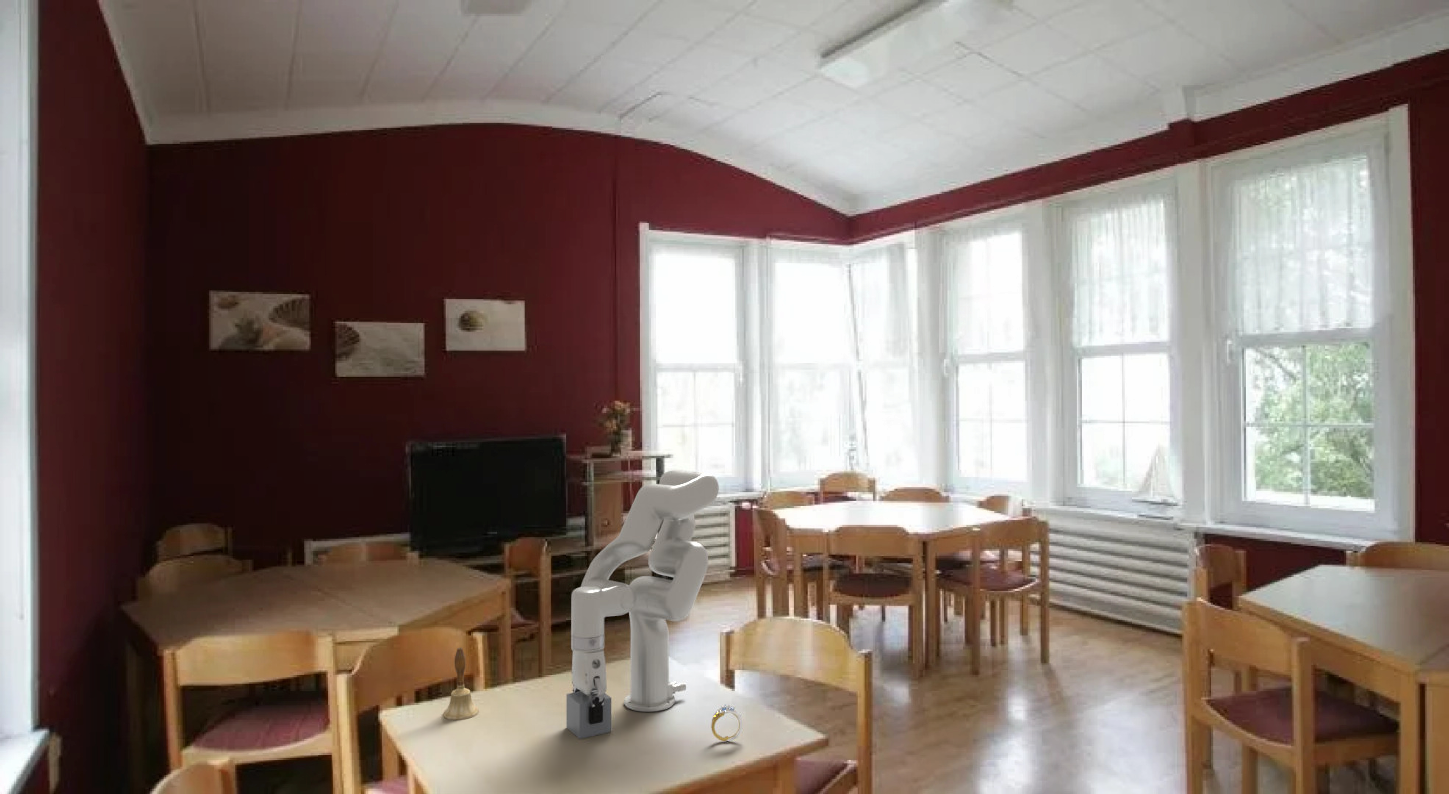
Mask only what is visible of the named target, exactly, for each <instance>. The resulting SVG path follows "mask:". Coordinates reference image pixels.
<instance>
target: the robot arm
mask: <svg viewBox="0 0 1449 794" xmlns="http://www.w3.org/2000/svg"><path fill="white" fill-rule="evenodd" d="M719 488H720V487H719V482H718V480H717V478H716V477H715V476H714V474H711V473H709V472H706V471H704V472H703V471H694V470H693V471H692V470H683V469H682V470H681V469H677V470H676V469H675V470H674V469H673V470H669V471H665V472H664V473H663V474H662V475H661V477H660V479H659V483H657V484H656V483H651V484H645V485H643V486H641V487H640V489H639V490H638V492H637V493H636V496H635V498H634V500H633V503H632V504H631V507H630V509H629V511H628V514H627V516H626V519H625V521H624V523H623V526H622V528H621V530H620V532H619V534H618V536H617V537H616V538H615V539H614V540H612V541H611V542H610V543H608V544H607V545H606V546H605V547H604V548H603V549H602V550H600V552H599V553H598V554H597V555H595V557H594V558H593V560H592V561H591V562H590V564H589V567H588V568H587V570H586V572H585V575H584V577H583V579H582V582H581V585H580V587H577V588H574V589H573V590H572V592H571V601H570V602H571V603H570V604H571V606H570V607H571V608H570V609H571V611H570V613H571V614H570V615H571V618H570V619H571V623H570V624H571V627H570V628H571V629H570V630H571V631H570V634H571V639H570V642H571V646H570V648H571V651H572V662H571V663H572V664H571V678H572V679H571V683H572V686H573V687H572V693H574V692H579V691H581V692H583V693H584V694H586V695H587V696H588V697H589V701H590V705H591V706H589V724H591V725H592V724H596V723H601V722H602V721H603V705H604V699H605V698H604V696H605V694H606V692H607V668H606V667H607V666H606V657H605V651H604V649H605V618H606V617H615V616H617V617H619V616H623V615H626V614H629V616H628V617H629V622H630V623H629V625H630V693H628V694H627V695H626V696H625V697H624V701H623V702H624V706H625V707H626V708H628V709H630V710H633V711H637V712H644V713H645V712H646V713H649V712H650V713H651V712H660V711H664V710H667V709H670V708H671V707H673V706H674V705H675V701H676V698H675V696H674V694H675V695H676V693H677V692H678V693H679V692H683V691H684V692H685V691H686V690H687V684H686V683H685V682H681V683H677V682H676V681H672V682H669V681H670V677H669V675H670V674H669V673H670V670H669V669H670V666H669V665H670V664H669V662H670V661H669V660H670V659H669V657H670V654H669V653H670V652H669V651H670V646H669V645H670V643H669V641H670V632H669V627H668V623H667V621H671V622H680V621H683V620H685V619H686V618H687V616H688V615H689V614H690V612H691V611H692V609H693V607H694V604H695V602H696V599H697V597H698V595H699V592H700V590H701V586H702V584H703V583H704V580H705V576H706V574H707V571H708V567H709V555H708V551H707V549H706V548H705V547H704V546H703V544H701V543H699V542H696V541H694V540H693V541H692V539H693V535H694V533H695V531H696V519H695V515H694V514H697V513H698V512H700V511H702V510H703V509H705V508H707V507H709V506H710V505H712V504H713V503H714V501H716V498H718V495H719ZM648 552H650V553H649V555H648V559H647V560H648V561H647V562H648V566H649V567H648V568H649V569H650V570H651V571H652V572H653V573H656V574H658V575H662V576H665V577H666V576H667V577H671V578H672V579H666V578H664V577H663V578H662V577H656V576H648V575H644V576H643V575H642V576H639V577H636V578H635V579H633V580H632V581H631V582H630V583H629V584H626V583H625V582H621V581H620V582H619V581H614V580H609V579H610V577H611V575H612V574H613V572H614V571H616V569H617V568H618V567H619V566H621V565H622V564H623V563H625V562H626V561H630V560H632V559H634V558H637V557H639V556H642V555H644V554H646V553H648ZM666 620H667V621H666ZM593 690H597V691H596V692H591V691H593ZM596 695H597V697H596V698H595V699H594V700H593V696H596Z"/></svg>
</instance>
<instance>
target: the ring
mask: <svg viewBox="0 0 1449 794" xmlns="http://www.w3.org/2000/svg"><path fill="white" fill-rule="evenodd" d="M735 709H736V706H733V705H730V704H728V705H727V704H724V706H720V708H718V709H717V710H716V711H714V712H715V713H714V714H713V716H712V719H711V724H710V726H711V727H710V728H711V732H712V734H713V736H714V737H715V738H716V739H717V740H719V741H722V742H725V741H729V742H731V741H733V740H735V739H737V738H738V737H739V736H740V735H741V733H742V729H743V719H742V716H741V715H740V713H739V712H738V711H736V710H735ZM726 714H733V716H735V717H736V718H737V720H738V723H739V724H738V729H737V731H736V732H735V734H733V735H731V736H728V735H727V736H722V735H720V734H718V733H717V730H716V729H715V725H716V723H717V721H718V720H719V719H720V718H721V717H723V716H725V715H726Z"/></svg>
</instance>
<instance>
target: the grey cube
mask: <svg viewBox="0 0 1449 794" xmlns="http://www.w3.org/2000/svg"><path fill="white" fill-rule="evenodd" d="M596 691H597V690H593V691H591V692H596ZM596 697H597V695H596V696H593V700H594V699H595V698H596ZM604 698H605V699H604V705H603V721H602V722H601V723H596V724H592V725H591V724H589V706H591V705H590V701H589V697H588V696H587V695H586V694H584V693H583V692H581V691H579V692H574V693H573V692H570V693H566V729H568V730H569V731H570V732H571V733H572V734H574V736H575V737H576V738H578V739H579V740H580V739H585V738H591V737H594V736H599V735H603V734H607V733H611V732H612V697H611V696H610V695H608V694H607V693H605V696H604Z"/></svg>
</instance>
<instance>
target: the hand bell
mask: <svg viewBox="0 0 1449 794" xmlns="http://www.w3.org/2000/svg"><path fill="white" fill-rule="evenodd" d="M466 660H467V659H466V655H465V652H464V648H463V647H458V648H457V647H456V652H455V655H454V668H455V672H456V686H457V687H456V689H454V690H452V691H451V693H450V700H449V704H448V706H447V708H446V709H445V710H444V711H443V713H442V716H443V718H444V719H447V720H450V721H452V720H453V721H462V720H468V719H471V718H474V717H475V716H477V715H478V713H479V709H478V706H476V705H475V703H474V702H473V699H472V695H471V690H470V689H468V688H466V687H465V673H464V672H465V669H466V664H467V661H466Z"/></svg>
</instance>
